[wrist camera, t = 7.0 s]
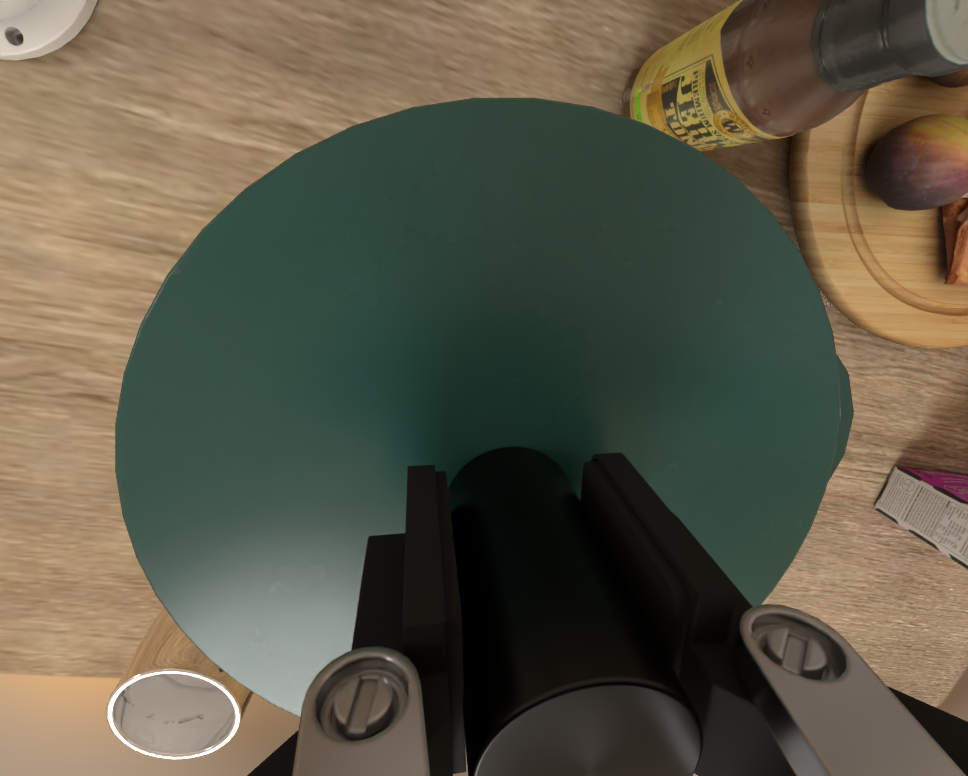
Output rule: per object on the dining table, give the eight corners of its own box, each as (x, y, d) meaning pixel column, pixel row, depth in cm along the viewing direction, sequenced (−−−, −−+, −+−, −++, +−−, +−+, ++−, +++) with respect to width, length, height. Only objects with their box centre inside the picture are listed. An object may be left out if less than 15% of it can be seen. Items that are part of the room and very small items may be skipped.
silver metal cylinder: (319, 517, 40) (262, 685, 26) (289, 582, 41) (221, 773, 27) (232, 488, 38) (120, 651, 24) (204, 558, 40) (85, 747, 26)
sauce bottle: (597, 119, 32) (837, -5, 14) (659, 28, 31) (1020, -249, 12) (667, 181, 34) (963, 145, 15) (728, 97, 33) (1134, -52, 14)
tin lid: (-15, 218, 9) (-1098, 249, 2) (811, 26, 9) (1599, -333, 3) (297, 765, 14) (207, 1189, 8) (797, 623, 15) (1066, 918, 9)
